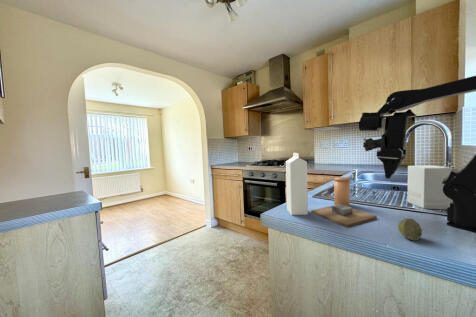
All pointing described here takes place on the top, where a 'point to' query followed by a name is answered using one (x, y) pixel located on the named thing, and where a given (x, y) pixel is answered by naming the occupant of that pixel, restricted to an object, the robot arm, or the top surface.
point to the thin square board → (343, 215)
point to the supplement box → (428, 186)
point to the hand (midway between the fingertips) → (389, 176)
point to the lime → (410, 229)
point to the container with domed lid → (342, 191)
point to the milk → (296, 185)
